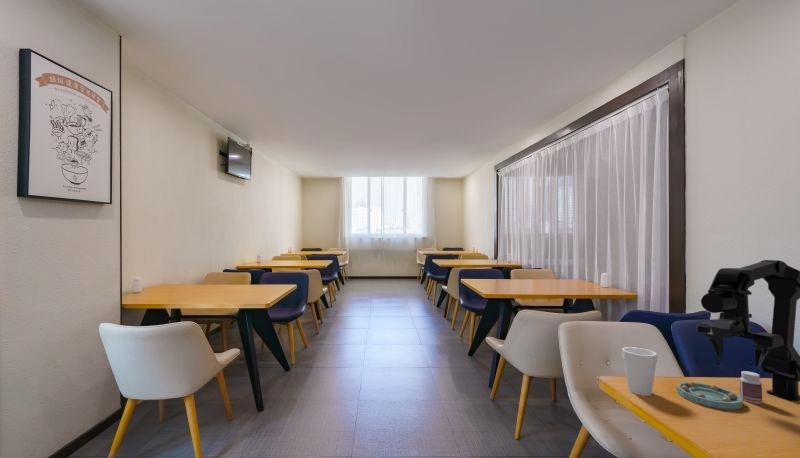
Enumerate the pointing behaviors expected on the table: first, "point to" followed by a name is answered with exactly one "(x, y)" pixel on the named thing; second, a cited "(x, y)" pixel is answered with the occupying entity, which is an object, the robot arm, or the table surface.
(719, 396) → the tray
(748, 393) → the pill bottle
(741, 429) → the table surface
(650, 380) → the foam cup
